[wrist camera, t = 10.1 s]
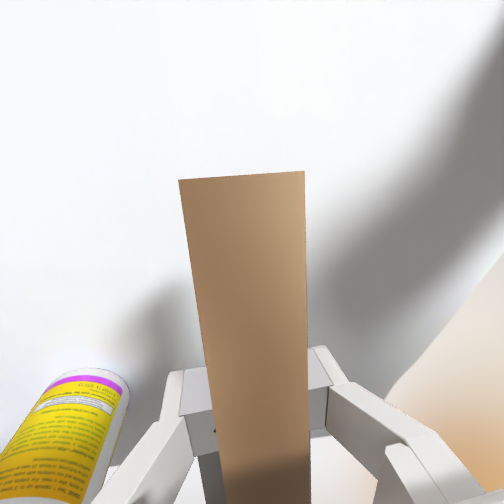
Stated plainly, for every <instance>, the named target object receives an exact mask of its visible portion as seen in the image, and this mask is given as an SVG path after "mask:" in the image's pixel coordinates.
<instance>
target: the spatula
mask: <svg viewBox="0 0 504 504" xmlns="http://www.w3.org/2000/svg"><path fill="white" fill-rule="evenodd" d="M178 182H179V188H180V195H181V202H182V208H183V215H184V222H185V228H186V235H187V242H188V248H189V255H190V262H191V268H192V275H193V282H194V289H195V295H196V302H197V309H198V315H199V322H200V329H201V335H202V342H203V349H204V355H205V362H206V369H207V375H208V382H209V389H210V395H211V402H212V409H213V415H214V422H215V429H216V435H217V442H218V449H219V451H216V452H212V453H208V454H204V455H200V456H198V462H199V467H200V473H201V478H202V483H203V489H204V494H205V500H206V504H311V461H310V430H309V405H308V345H307V286H306V226H305V171H295V172H281V173H267V174H253V175H239V176H225V177H210V178H196V179H182V180H178Z"/></svg>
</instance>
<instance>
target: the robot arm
mask: <svg viewBox="0 0 504 504" xmlns="http://www.w3.org/2000/svg"><path fill="white" fill-rule="evenodd" d="M308 405H309V430H315V429H320V428H325V427H326V430H327V431H328V432H329V433H330V434H331V435H332V436H333V437H334V438H335V439H337V441H339V442H340V443H341V444H342V445H343V446H344V447H345V448H346V449H347V450H348V451H349V452H350V453H351V454H352V455H353V456H354V457H355V458H356V459H357V460H358V461H359V462H360V463H361V464H362V465H363V466H364V467H365V468H366V469H367V470H368V471H369V472H370V473H371V474H372V475H373V476H374V477H375V478H376V479H377V480H378V483H377V488H376V492H375V496H374V501H373V504H504V488H503V489H500V490H496V491H493V492H489V493H486V491H485V490H484V489H483V488H482V487H481V485H480V484H479V483H478V482H477V481H476V479H475V478H474V477H473V476H472V475H471V473H470V472H469V471H468V470H467V469H466V468H465V466H464V465H463V464H462V463H461V462H460V461H459V459H458V458H457V457H456V456H455V454H454V453H453V452H452V451H451V450H450V448H449V447H448V446H447V445H446V444H445V442H444V441H443V440H442V439H441V438H440V436H439V435H438V434H437V433H436V432H434V431H433V430H431V429H430V428H428V427H426V426H425V425H423V424H422V423H420V422H418V421H417V420H415V419H413V418H412V417H410V416H409V415H407V414H405V413H404V412H402V411H400V410H399V409H397V408H396V407H394V406H392V405H391V404H389V403H388V402H386V401H384V400H383V399H381V398H379V397H378V396H376V395H375V394H373V393H371V392H370V391H368V390H367V389H365V388H363V387H362V386H360V385H358V384H357V383H355V382H349V381H348V379H347V378H346V376H345V374H344V373H343V371H342V370H341V368H340V367H339V365H338V364H337V362H336V360H335V359H334V357H333V356H332V354H331V353H330V351H329V350H328V348H327V347H326V346H325V345H320V346H315V347H311V348H308ZM216 451H219V449H218V442H217V435H216V429H215V422H214V415H213V409H212V402H211V395H210V389H209V382H208V375H207V369H206V366H203V367H197V368H190V369H185V370H179V371H172V372H169V374H168V377H167V382H166V387H165V392H164V397H163V402H162V408H161V413H160V418H159V421H156V422H153V424H152V425H151V426H150V428H149V429H148V430H147V431H146V433H145V434H144V435H143V437H142V438H141V439H140V440H139V442H138V443H137V444H136V446H135V447H134V448H133V450H132V451H131V452H130V453H129V455H128V456H127V457H126V459H125V460H124V461H123V462H122V464H121V465H120V466H119V468H118V469H117V470H116V471H115V473H114V474H113V475H112V477H111V478H110V479H109V481H108V482H107V483H106V484H105V486H104V487H103V488H102V489H101V491H100V492H99V493H98V495H97V496H96V497H95V498H94V500H93V501H92V502H91V504H173V503H174V501H175V499H176V497H177V495H178V492H179V490H180V488H181V486H182V484H183V482H184V480H185V477H186V476H187V473H188V471H189V469H190V467H191V465H192V463H193V461H194V457H196V456H200V455H204V454H208V453H212V452H216Z"/></svg>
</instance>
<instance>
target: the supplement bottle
mask: <svg viewBox="0 0 504 504" xmlns="http://www.w3.org/2000/svg"><path fill="white" fill-rule="evenodd" d="M129 399H130V394H129V389H128V387H127V385H126V383H125V382H124V381H123V380H122V379H121V378H120V377H119V376H117V375H116V374H114V373H112V372H110V371H107V370H103V369H98V368H81V369H76V370H72V371H69V372H67V373H65V374H63V375H61V376H59V377H58V378H56V379H55V380H54V381H53V382H52V383H51V384H50V385H49V386H48V387H47V389H46V390H45V392H44V393H43V394H42V396H41V397H40V399H39V400H38V401H37V403H36V404H35V406H34V407H33V409H32V410H31V412H30V413H29V414H28V416H27V417H26V419H25V420H24V422H23V423H22V424H21V426H20V427H19V429H18V430H17V432H16V433H15V435H14V436H13V438H12V439H11V440H10V442H9V443H8V445H7V446H6V448H5V449H4V451H3V452H2V453H1V455H0V504H91V502H92V501H93V500H94V498H95V497H96V496H97V495H98V493H99V492H100V491H101V489H102V486H103V483H104V480H105V477H106V474H107V471H108V468H109V464H110V461H111V458H112V455H113V452H114V449H115V446H116V443H117V440H118V436H119V433H120V430H121V427H122V424H123V421H124V418H125V414H126V411H127V408H128V404H129Z"/></svg>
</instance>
